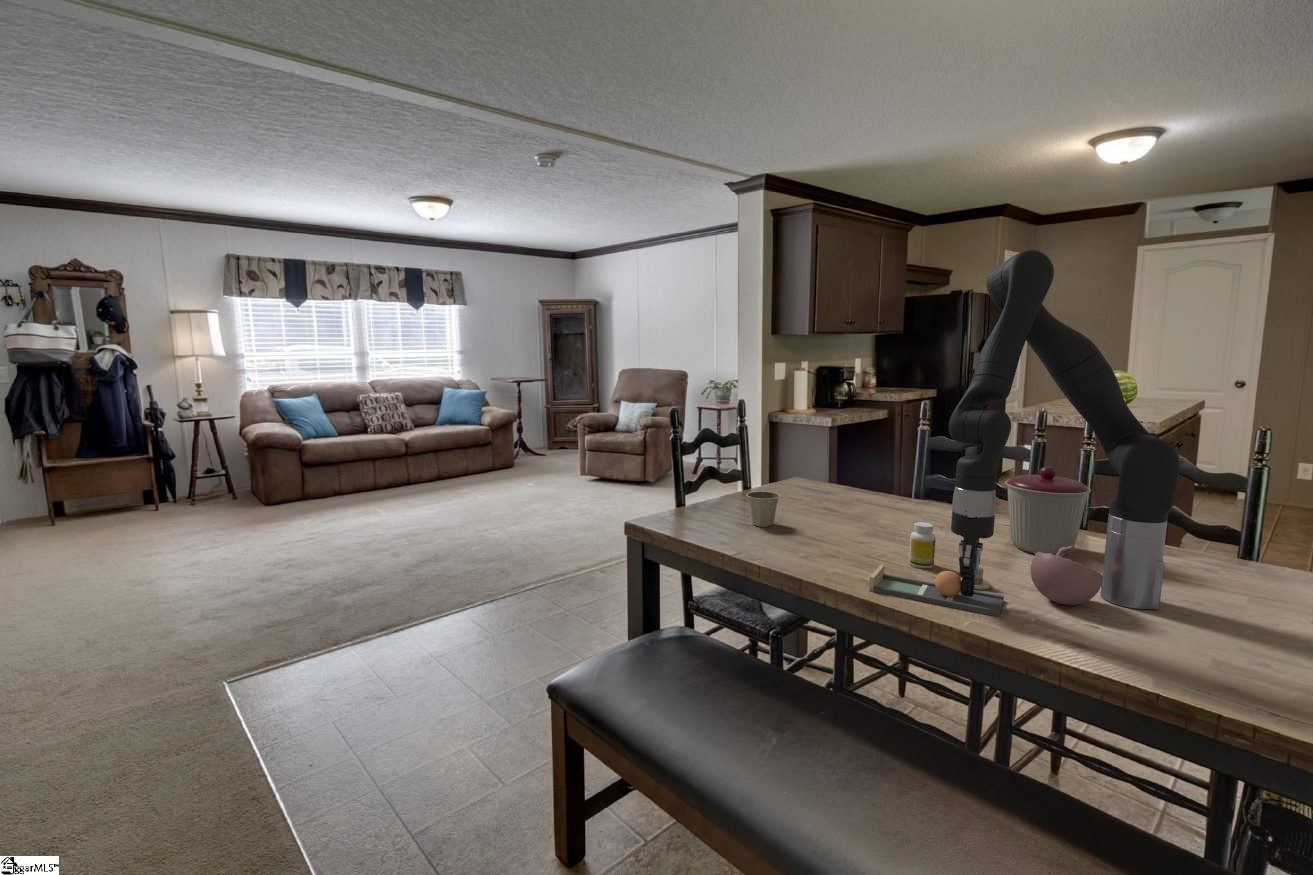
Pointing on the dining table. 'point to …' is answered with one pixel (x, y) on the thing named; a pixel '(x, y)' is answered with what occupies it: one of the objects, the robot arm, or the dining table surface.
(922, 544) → the supplement bottle
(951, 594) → the ball
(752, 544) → the dining table surface
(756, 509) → the flower pot
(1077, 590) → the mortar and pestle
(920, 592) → the lane
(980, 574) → the beige brimmed cylinder
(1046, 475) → the canister
